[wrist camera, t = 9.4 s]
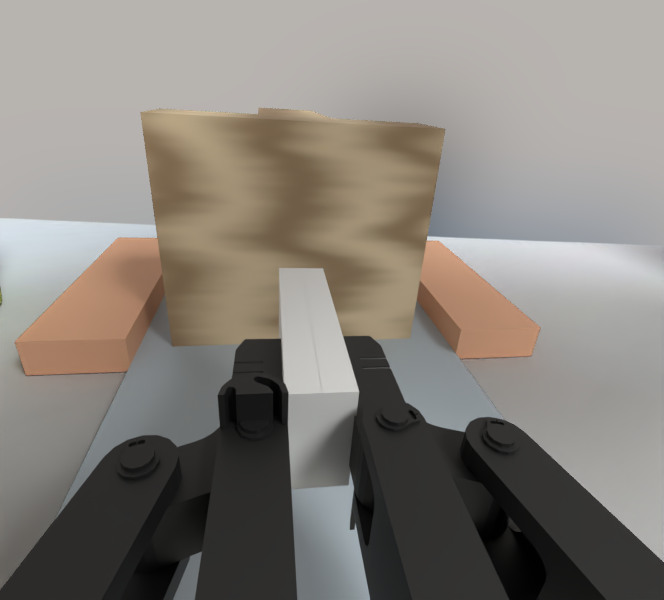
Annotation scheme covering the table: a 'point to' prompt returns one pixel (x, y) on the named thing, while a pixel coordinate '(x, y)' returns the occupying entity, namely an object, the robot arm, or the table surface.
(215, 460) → the robot arm
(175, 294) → the oak T block
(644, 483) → the table surface
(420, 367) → the push board
